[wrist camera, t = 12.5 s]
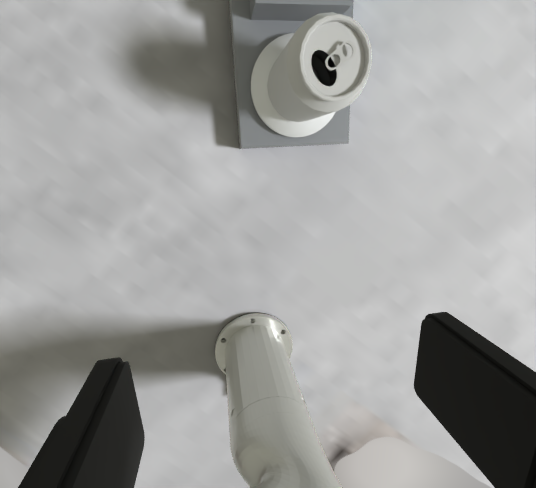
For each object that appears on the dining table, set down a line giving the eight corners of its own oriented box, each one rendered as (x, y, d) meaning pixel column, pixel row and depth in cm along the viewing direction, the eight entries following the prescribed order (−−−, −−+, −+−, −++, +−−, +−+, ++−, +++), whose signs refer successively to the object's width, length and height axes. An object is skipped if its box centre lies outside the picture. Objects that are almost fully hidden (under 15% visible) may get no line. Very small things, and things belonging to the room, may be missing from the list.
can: (252, 78, 34) (272, 41, 23) (306, 37, 34) (352, -21, 22) (289, 135, 36) (323, 128, 25) (338, 98, 36) (396, 73, 25)
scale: (339, 144, 42) (362, 142, 35) (239, 148, 40) (244, 148, 33) (343, -12, 36) (372, -48, 30) (227, -16, 34) (231, -56, 28)
